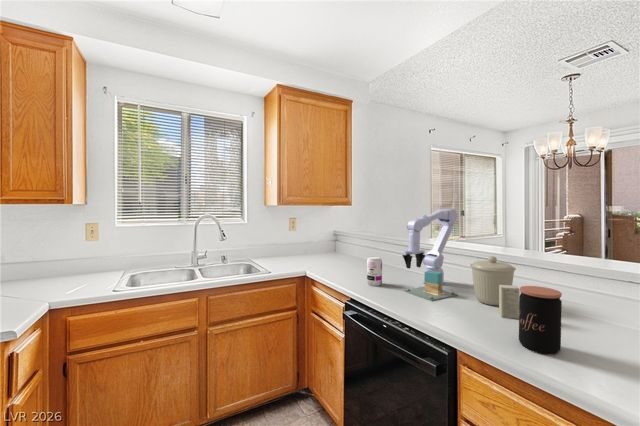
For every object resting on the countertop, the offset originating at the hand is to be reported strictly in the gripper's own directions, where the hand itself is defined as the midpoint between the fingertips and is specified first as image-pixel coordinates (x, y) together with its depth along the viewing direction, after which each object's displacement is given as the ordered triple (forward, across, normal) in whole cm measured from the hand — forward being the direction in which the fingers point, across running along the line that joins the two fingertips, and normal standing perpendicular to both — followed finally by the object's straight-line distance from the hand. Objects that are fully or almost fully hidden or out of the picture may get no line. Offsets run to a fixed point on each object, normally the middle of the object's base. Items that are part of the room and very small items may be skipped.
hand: (413, 267), depth 164 cm
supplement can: (+11, +15, -14) cm, 23 cm away
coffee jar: (+11, +18, +70) cm, 73 cm away
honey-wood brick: (+10, 0, +14) cm, 17 cm away
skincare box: (+10, 0, +50) cm, 51 cm away
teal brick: (+5, 0, +14) cm, 14 cm away
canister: (+10, -12, +36) cm, 40 cm away
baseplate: (+10, +2, +13) cm, 17 cm away
